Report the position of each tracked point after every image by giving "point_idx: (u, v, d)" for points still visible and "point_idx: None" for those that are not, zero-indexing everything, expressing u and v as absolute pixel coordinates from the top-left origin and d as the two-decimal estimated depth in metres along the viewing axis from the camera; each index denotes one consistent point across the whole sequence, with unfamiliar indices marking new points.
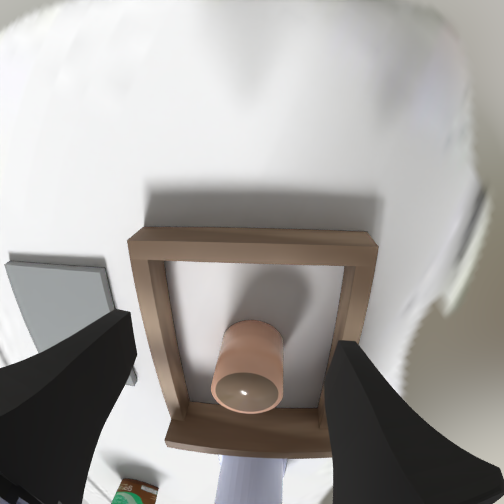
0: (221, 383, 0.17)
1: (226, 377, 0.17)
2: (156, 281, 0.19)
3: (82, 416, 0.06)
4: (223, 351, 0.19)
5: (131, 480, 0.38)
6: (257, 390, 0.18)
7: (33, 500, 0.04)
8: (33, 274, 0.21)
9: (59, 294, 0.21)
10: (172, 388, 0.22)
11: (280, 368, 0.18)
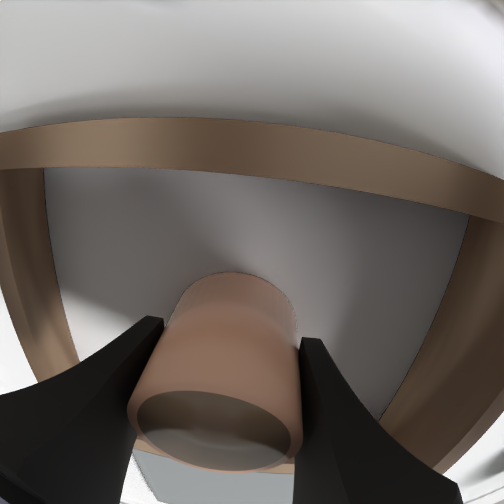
0: (182, 458, 0.07)
1: (162, 448, 0.07)
2: None
3: (120, 429, 0.06)
4: None
5: None
6: (196, 423, 0.06)
7: None
8: (157, 489, 0.18)
9: (173, 483, 0.17)
10: (291, 465, 0.11)
11: (182, 340, 0.07)
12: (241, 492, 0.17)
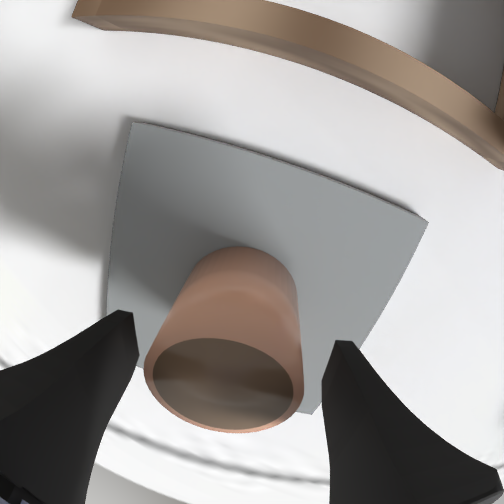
0: (192, 416, 0.08)
1: (174, 406, 0.08)
2: None
3: (85, 417, 0.06)
4: None
5: None
6: (208, 373, 0.08)
7: (36, 502, 0.04)
8: (120, 297, 0.13)
9: (161, 258, 0.12)
10: (434, 75, 0.07)
11: (196, 299, 0.08)
12: None
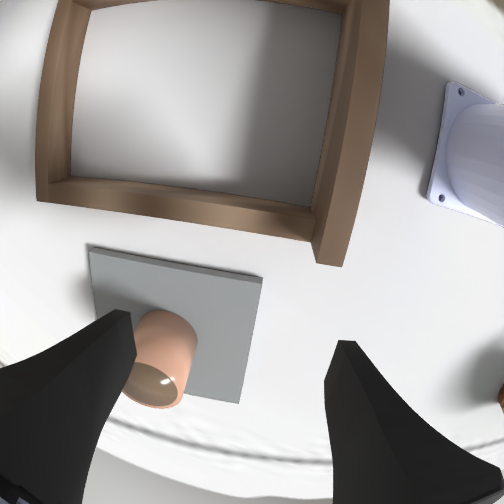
0: (139, 399, 0.17)
1: (129, 394, 0.17)
2: (76, 183, 0.16)
3: (82, 416, 0.06)
4: None
5: (502, 389, 0.23)
6: (137, 377, 0.16)
7: (33, 500, 0.04)
8: None
9: None
10: (221, 208, 0.15)
11: None
12: None
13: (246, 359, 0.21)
